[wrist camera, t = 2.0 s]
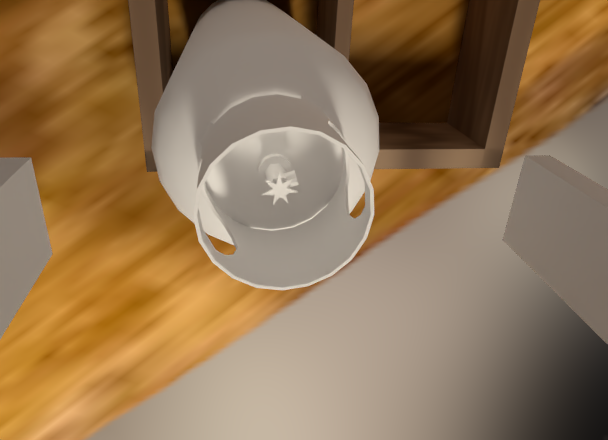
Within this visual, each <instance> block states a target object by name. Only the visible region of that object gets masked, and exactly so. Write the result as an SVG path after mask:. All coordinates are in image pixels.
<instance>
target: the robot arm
mask: <svg viewBox="0 0 608 440" xmlns="http://www.w3.org/2000/svg"><path fill="white" fill-rule="evenodd" d="M503 241H504V242H505V243H506V244H507V245H508V246H509V247H510V248H511V249H512V250H513V251H514V252H515V253H516V254H517V255H518V256H519V257H520V258H521V259H522V260H523V261H524V262H525V263H526V264H527V265H528V266H529V267H530V268H531V269H532V270H533V271H534V272H535V273H536V274H537V275H538V276H539V277H541V279H542V280H543V281H544V282H545V283H546V284H547V285H548V286H549V287H550V288H551V289H552V290H553V291H554V292H556V294H557V295H559V296H560V298H561V299H562V300H563V301H564V302H565V303H567V304H568V305H569V306H570V307H571V308H572V309H573V310H574V311H575V312H576V313H577V314H578V315H579V316H580V317H581V318H582V319H583V320H584V321H585V322H586V323H587V324H588V325H589V326H590V327H591V328H592V329H593V330H594V331H595V332H596V333H597V334H598V335H599V336H600V337H601V338H602V339H603V340H604V341H605V342H606V343H607V344H608V189H606V188H604V187H603V186H601V185H599V184H598V183H596V182H594V181H592V180H591V179H589V178H587V177H586V176H584V175H582V174H581V173H579V172H577V171H575V170H574V169H572V168H570V167H569V166H567V165H565V164H563V163H562V162H560V161H558V160H557V159H555V158H553V157H551V156H525V158H524V162H523V166H522V169H521V173H520V177H519V181H518V184H517V188H516V192H515V195H514V199H513V203H512V207H511V211H510V214H509V218H508V222H507V225H506V229H505V233H504V237H503ZM51 256H52V250H51V245H50V241H49V236H48V232H47V227H46V223H45V218H44V214H43V209H42V205H41V200H40V196H39V192H38V187H37V183H36V178H35V174H34V169H33V165H32V160H31V158H0V339H1V337H2V336H3V334H4V332H5V331H6V329H7V327H8V326H9V324H10V322H11V321H12V319H13V318H14V316H15V314H16V313H17V311H18V309H19V308H20V306H21V305H22V303H23V301H24V300H25V298H26V296H27V295H28V293H29V291H30V290H31V288H32V287H33V285H34V283H35V282H36V280H37V278H38V277H39V275H40V273H41V272H42V270H43V269H44V267H45V265H46V264H47V262H48V260H49V259H50V257H51Z"/></svg>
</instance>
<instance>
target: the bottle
mask: <svg viewBox="0 0 608 440" xmlns="http://www.w3.org/2000/svg"><path fill="white" fill-rule="evenodd" d="M151 148H152V152H153V156H154V160H155V164H156V168H157V172H158V176H159V180H160V182H161V184H162V185H163V187H164V189H165V190H166V192H167V193H168V195H169V196H170V198H171V199H172V201H173V202H174V204H175V206H176V207H177V209H178V210H179V211H180V212H181V213H183V214H184V215H185V216H186V217H187V218H189V219H190V220H191V221H192V222H194V223H195V226H196V231H197V235H198V240H199V242H200V244H201V245H202V247H203V248H204V250H205V252H206V253H207V255H208V256H209V258H210V259H211V261H212V262H213V263H214V264H215V265H216V266H218V267H219V268H220V269H221V270H223V271H224V272H225V273H226V274H228V275H229V276H230V277H231V278H233V279H235V280H238V281H241V282H243V283H246V284H248V285H251V286H253V287H256V288H264V289H275V290H287V289H293V288H299V287H306V286H310V285H312V284H314V283H316V282H319V281H321V280H323V279H325V278H328V277H330V276H332V275H333V274H335V273H336V272H337V271H338V270H339V269H341V268H342V267H343V266H344V265H346V264H347V263H348V262H349V261H351V260H352V259H353V257H354V256H355V254H356V253H357V252H358V250H359V249H360V247H361V246H362V244H363V243H364V242H365V240H366V239H367V236H368V233H369V230H370V226H371V223H372V220H373V217H374V189H373V187H372V184H371V182H370V180H371V177H372V173H373V170H374V167H375V163H376V160H377V157H378V153H379V117H378V114H377V111H376V108H375V105H374V103H373V100H372V97H371V94H370V91H369V89H368V86H367V84H366V82H365V81H364V80H363V79H362V77H361V76H360V75H359V74H358V73H357V71H356V70H355V69H354V68H353V66H352V65H351V64H350V63H349V61H348V60H347V59H346V58H345V56H344V55H342V54H341V53H339V52H338V51H337V50H335V49H334V48H333V47H331V46H330V45H329V44H327V43H326V42H324V41H323V40H322V39H320V38H319V37H318V36H316V35H315V34H313V33H312V32H311V31H309V30H308V29H307V28H305V27H304V26H303V25H301V24H300V23H298V22H297V21H296V20H294V19H293V18H292V17H290V16H289V15H288V14H286V13H285V12H283V11H282V10H281V9H279V8H278V7H276V6H275V5H273V4H272V3H270V2H269V1H267V0H218V1H216V2H214V3H212V4H211V5H210V6H209V7H208V8H207V9H206V10H205V11H204V12H203V13H202V14H201V16H200V17H199V19H198V21H197V24H196V26H195V28H194V30H193V32H192V34H191V36H190V38H189V40H188V42H187V44H186V46H185V48H184V50H183V52H182V55H181V57H180V59H179V61H178V63H177V65H176V67H175V69H174V71H173V73H172V75H171V77H170V79H169V82H168V84H167V86H166V88H165V90H164V92H163V95H162V97H161V99H160V101H159V103H158V105H157V108H156V110H155V113H154V124H153V135H152V147H151ZM364 192H365V207H364V209H363V212H362V214H361V215H360V216H358V217H356V218H353V217H351V216H350V215H349V214H350V213H351V211H352V210H353V208H354V207H355V205H356V204H357V202H358V201H359V199H360V198H361V196H362V195H363V193H364ZM205 232H206V233H207V234H208V235H211V236H213V237H216V238H218V239H220V240H223V241H225V242H227V243H230V244H232V245H235V247H236V251H235V252H234V254H233V255H224V254H222V253H220V252H219V251H217V250H216V249H215V248H214V246H213V245H212V243H211V242H210V240H209V238H208V237H207V235H206V234H205Z"/></svg>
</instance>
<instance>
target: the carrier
mask: <svg viewBox="0 0 608 440" xmlns="http://www.w3.org/2000/svg"><path fill="white" fill-rule="evenodd" d="M128 2H129V12H130V21H131V30H132V39H133V48H134V57H135V66H136V76H137V85H138V94H139V103H140V112H141V121H142V130H143V139H144V149H145V158H146V167H147V172H153V171H157V168H156V164H155V160H154V156H153V152H152V148H151V147H152V135H153V124H154V113H155V110H156V108H157V105H158V103H159V101H160V99H161V97H162V95H163V92H164V90H165V88H166V86H167V84H168V82H169V79H170V77H171V75H172V73H173V68H172V55H171V41H170V28H169V15H168V2H167V0H128ZM539 2H540V0H470V1H469V6H468V11H467V17H466V22H465V28H464V33H463V39H462V44H461V50H460V55H459V60H458V66H457V71H456V77H455V82H454V88H453V93H452V98H451V104H450V109H449V115H448V120H447V123H386V122H379V153H378V157H377V160H376V163H375V167H374V169H426V168H499V166H500V162H501V157H502V153H503V149H504V145H505V141H506V137H507V133H508V129H509V125H510V121H511V117H512V112H513V108H514V104H515V100H516V96H517V92H518V88H519V84H520V80H521V76H522V72H523V67H524V63H525V59H526V55H527V51H528V47H529V43H530V39H531V35H532V31H533V27H534V22H535V18H536V14H537V10H538V6H539ZM353 4H354V0H318V15H317V33H316V36H318V37H319V38H320V39H322V40H323V41H324V42H326V43H327V44H329V45H330V46H331V47H333V48H334V49H335V50H337V51H338V52H339V53H341V54H342V55H344V56H345V58H346V59H347V60H348V61H349V52H350V40H351V28H352V16H353Z"/></svg>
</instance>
